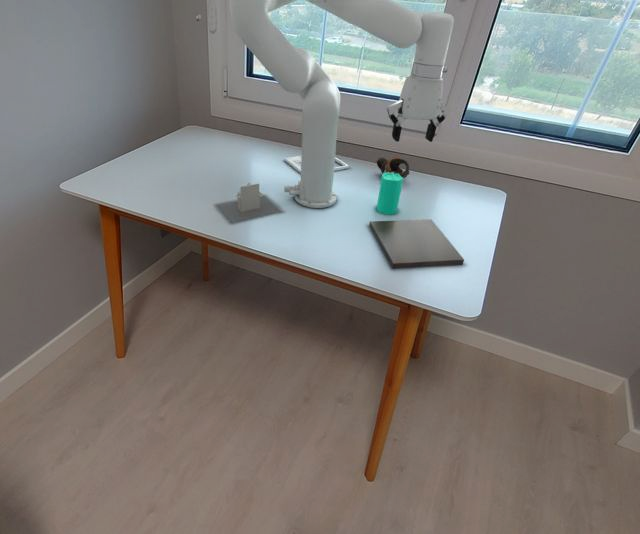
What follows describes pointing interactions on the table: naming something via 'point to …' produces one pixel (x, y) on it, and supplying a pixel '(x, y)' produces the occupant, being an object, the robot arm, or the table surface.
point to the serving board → (414, 244)
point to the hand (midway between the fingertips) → (412, 140)
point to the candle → (389, 193)
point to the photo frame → (296, 163)
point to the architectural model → (248, 205)
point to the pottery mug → (393, 166)
